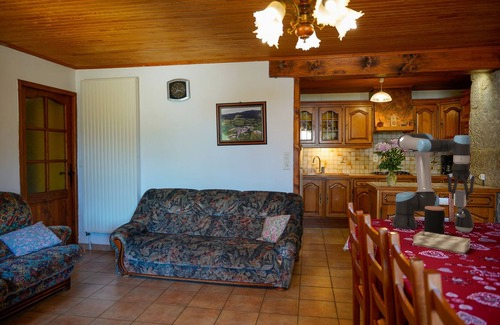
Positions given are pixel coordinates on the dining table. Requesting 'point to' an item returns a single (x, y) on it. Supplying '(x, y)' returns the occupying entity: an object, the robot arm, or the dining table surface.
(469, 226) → the dark grey egg shape
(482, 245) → the dining table surface
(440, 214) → the coffee jar
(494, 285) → the dining table surface
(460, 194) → the metal peg
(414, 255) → the dining table surface
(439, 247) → the keyhole plate
